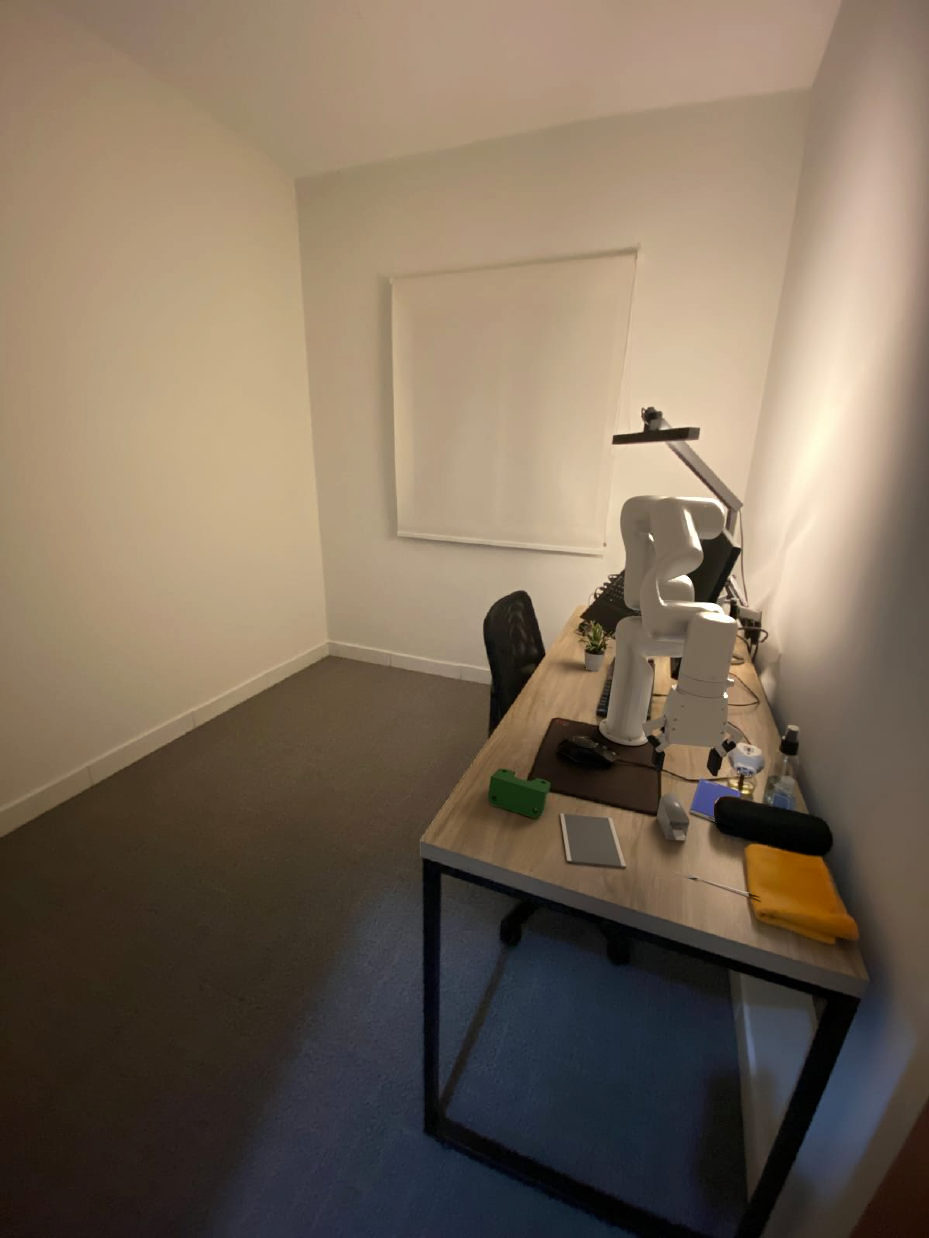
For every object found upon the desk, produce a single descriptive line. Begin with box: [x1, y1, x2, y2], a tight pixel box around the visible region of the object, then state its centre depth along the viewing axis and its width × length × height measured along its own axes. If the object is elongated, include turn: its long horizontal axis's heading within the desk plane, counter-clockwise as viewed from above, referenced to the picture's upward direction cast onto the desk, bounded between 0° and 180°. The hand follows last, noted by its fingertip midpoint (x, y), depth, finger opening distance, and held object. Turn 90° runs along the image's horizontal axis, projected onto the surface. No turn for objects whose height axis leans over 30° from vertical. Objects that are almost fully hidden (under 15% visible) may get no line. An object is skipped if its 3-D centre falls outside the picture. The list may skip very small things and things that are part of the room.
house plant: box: [575, 620, 615, 672], centre depth 166 cm, size 14×14×16 cm
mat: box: [559, 813, 627, 869], centre depth 91 cm, size 12×10×1 cm
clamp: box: [487, 768, 551, 819], centre depth 99 cm, size 12×6×9 cm, turn 60°
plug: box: [656, 792, 690, 842], centre depth 93 cm, size 8×4×6 cm, turn 175°
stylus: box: [668, 869, 750, 898], centre depth 83 cm, size 4×1×19 cm
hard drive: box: [689, 778, 742, 822], centre depth 102 cm, size 2×8×12 cm
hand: (684, 769), depth 90 cm, fingers open, 9 cm apart
